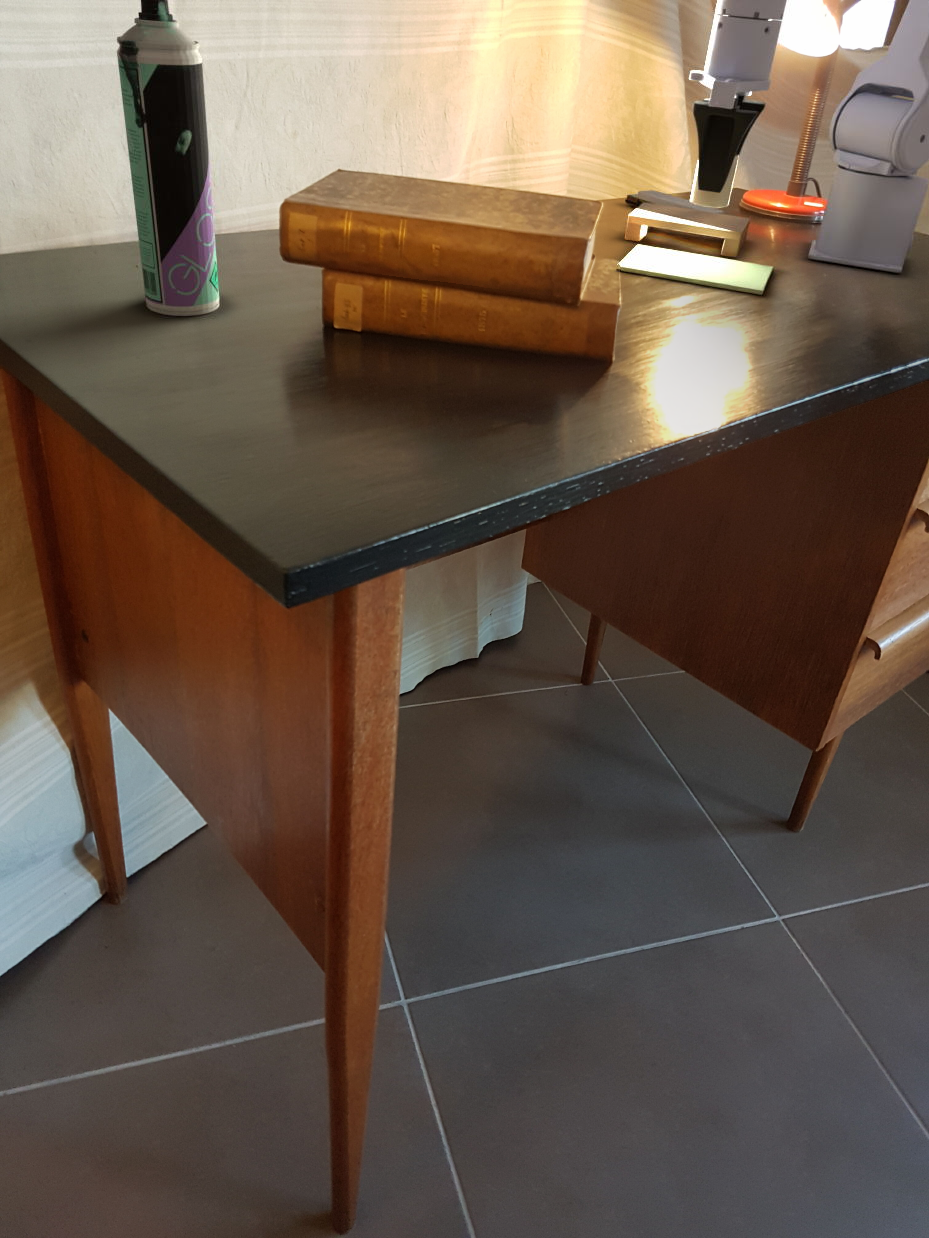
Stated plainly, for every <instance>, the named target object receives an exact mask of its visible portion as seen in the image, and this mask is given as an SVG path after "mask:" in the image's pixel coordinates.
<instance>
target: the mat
mask: <svg viewBox="0 0 929 1238" xmlns="http://www.w3.org/2000/svg"><path fill="white" fill-rule="evenodd" d="M618 264H619V265H620V270H621V271H620V270H619V271H620V272H625V273H626V272H627V273H632V274H633V273H634V274H638V275H645V276H648V277H649V276H650V277H656V278H661V279H668V280H673V281H679V282H685V283H690V284H695V285H696V284H697V285H702V286H706V287H707V286H709V287H714V288H720V289H725V290H732V291H737V292H742V293H749V294H755V295H760V296H762V295H763V293H764V291H765V288H766V286H767V284H768V281H769V279H770V277H771V274H772V272H773V268H774V266H773V265H772V266H771V265H765V264H759V263H754V262H747V261H741V260H736V259H728V258H723V257H717V256H711V255H704V254H698V253H692V252H687V251H682V250H681V251H680V250H674V249H668V248H662V247H655V246H650V245H643V244H637V245H635V247H634V248H632V250H631V251H630V252H628V253H627V254H626V256H625V257H623V259H621V261H619V262H618Z"/></svg>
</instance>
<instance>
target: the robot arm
mask: <svg viewBox="0 0 929 1238" xmlns="http://www.w3.org/2000/svg"><path fill="white" fill-rule="evenodd" d="M787 1H788V0H717V3H716V6H715V12H714V18H713V23H712V28H711V34H710V38H709V43H708V50H707V54H706V60H705V65H704V70H695V69H693V70H691V71H690V73H689V77H688V79H689V80H690V81H695V82H700V83H701V84H702V85H704V86H706V87H708V88H709V89H711V91H710V95H709V96H710V97H708V98H707V97H706V98H703V99H702V100H695V101H693V104H692V114H693V115H692V116H693V118H694V123H695V127H696V132H697V146H698V147H697V149H698V151H697V152H698V153H697V159H698V160H697V163H698V190H703V191H709V192H716V193H720V192H721V191H722V189H723V187H724V185H725V183H726V180H727V178H728V175H729V172H730V169H731V167H732V164H733V161H734V158H735V155H736V153H737V154H739V156H740V155H741V152H742V149H743V147H744V145H745V142H746V141H747V138H748V136H749V135H750V132H751V130H752V128H753V127H754V125H755V124H756V121H757V120H758V119H759V117H760V115H762V113H763V111H764V110H765V108H766V105H767V104H766V102H764V101H762V100H761V101H760V100H754V99H753V100H752V99H747V96H749V97H750V96H751V95H752V93H754V92H755V93H756V92H766V91H769V90H770V87H771V82H772V80H771V79H770V76H771V72H772V68H773V62H774V58H775V54H776V49H777V44H778V41H779V38H780V37H779V36H780V32H781V28H782V24H783V18H784V13H785V9H786V6H787ZM896 96H899V97H896ZM908 98H910V99H908ZM828 129H829V130H828V141H829V146H830V148H831V150H832V152H833V153H834V154H833V158H832V162H833V163H836V164H837V165H836V168H835V172H834V175H833V179H832V183H831V186H830V190H829V194H828V196H827V201H826V205H825V208H824V211H823V215H822V218H821V223H820V226H819V230H818V234H817V237H816V239H813V240H812V241H811V245H810V249H809V252H808V255H807V258H808V259H810V260H815V261H821V262H826V263H827V262H829V263H832V264H833V263H835V264H841V265H846V266H852V267H857V268H859V267H860V268H864V269H871V270H878V271H884V272H890V273H895V274H896V273H897V274H901V273H902V271H903V266H904V263H905V260H906V257H907V255H908V254H909V253H910V251H911V248H912V245H913V241H914V238H915V237H914V233H915V231H916V227H917V224H918V221H919V218H920V216H921V215H920V214H921V211H922V208H923V205H924V202H925V198H926V195H927V191H928V187H929V178H928V177H925V176H920V175H918V171H919V170H920V169H921V168H923V167H924V166H925V165H926V164H928V162H929V0H909V1H908V3H907V5H906V8H905V10H904V13H903V14H902V17H901V20H900V22H899V24H898V26H897V29H896V30H895V33H894V35H893V38H892V40H891V42H890V44H889V47H888V49H887V51H886V53H885V54H884V55H883V56H882V57H880V58H878V59H877V60H876V61H873V62H872V63H871V64H869V65H867V67H865V68H863V69H862V70H861V71H860V72H858V73H857V75H856V77H855V79H854V82H853V84H852V86H851V88H850V89H849V92H848V93H847V94H846V96H844V98H843V99H842V100H841V101H840V102H839V104H838V106H837V107H836V109H835V110H834V112H833V116H832V117H831V121H830V124H829V128H828Z"/></svg>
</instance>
